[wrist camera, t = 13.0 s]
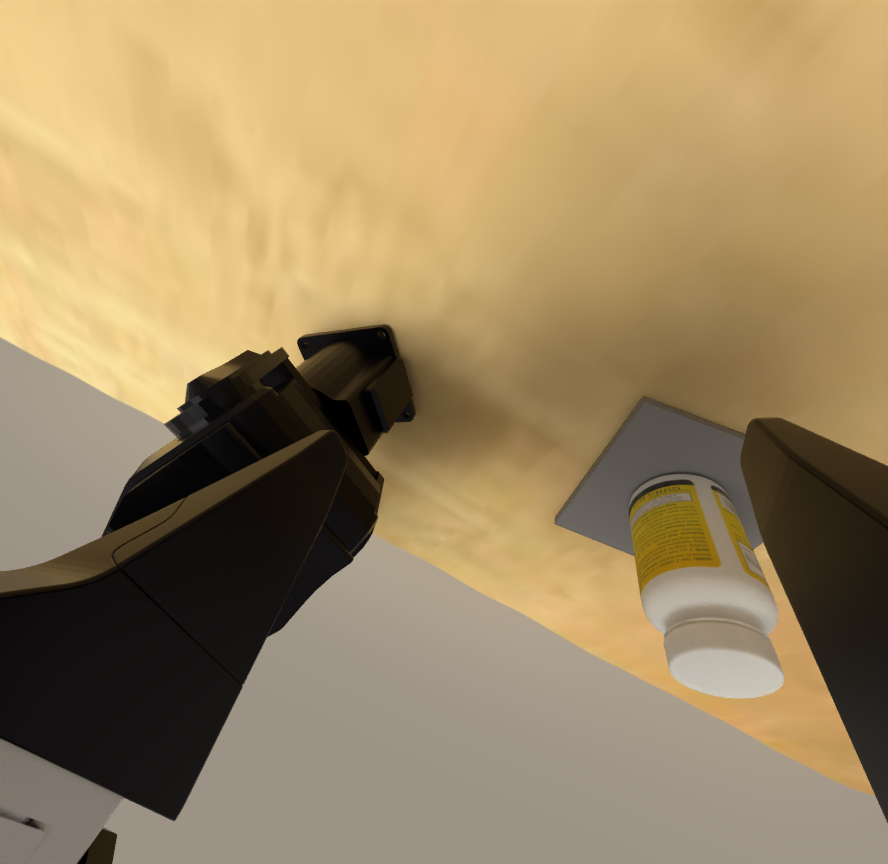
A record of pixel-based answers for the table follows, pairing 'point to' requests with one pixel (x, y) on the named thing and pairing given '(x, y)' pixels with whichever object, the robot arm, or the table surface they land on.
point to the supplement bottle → (704, 587)
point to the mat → (655, 471)
